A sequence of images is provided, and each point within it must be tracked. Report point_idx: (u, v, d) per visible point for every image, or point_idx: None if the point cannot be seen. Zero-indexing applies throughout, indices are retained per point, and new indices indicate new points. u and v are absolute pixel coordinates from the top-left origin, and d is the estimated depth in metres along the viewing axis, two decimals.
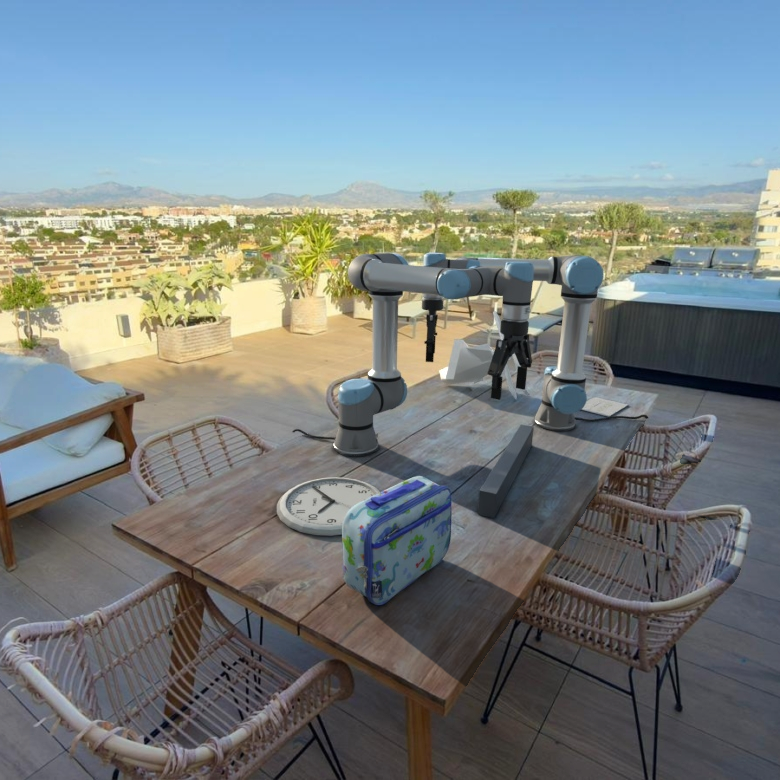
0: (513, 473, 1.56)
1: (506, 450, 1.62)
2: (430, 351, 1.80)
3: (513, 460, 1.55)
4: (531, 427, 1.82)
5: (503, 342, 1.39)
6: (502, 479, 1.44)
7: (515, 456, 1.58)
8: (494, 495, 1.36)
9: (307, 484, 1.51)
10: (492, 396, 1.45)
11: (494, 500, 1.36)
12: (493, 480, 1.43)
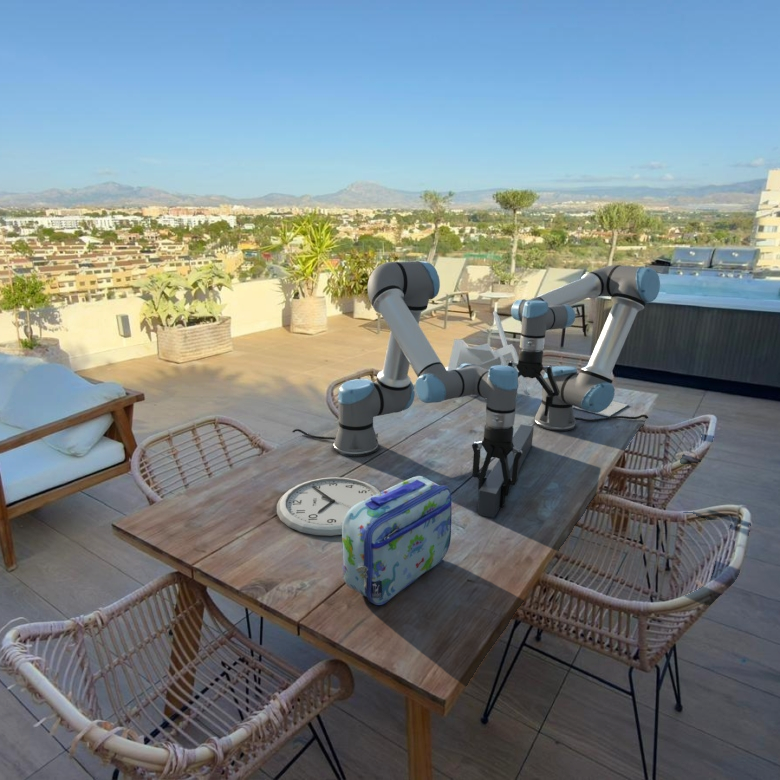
0: None
1: None
2: (552, 403, 1.71)
3: (513, 460, 1.55)
4: (531, 427, 1.82)
5: None
6: (502, 479, 1.44)
7: None
8: (494, 495, 1.36)
9: (307, 484, 1.51)
10: None
11: (494, 500, 1.36)
12: (493, 480, 1.43)
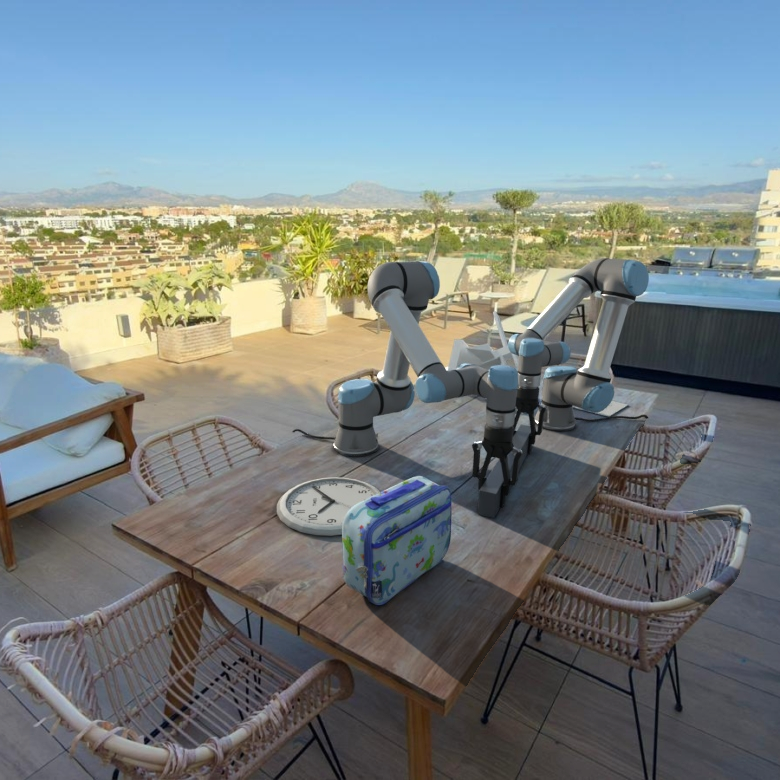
0: None
1: None
2: (534, 441, 1.77)
3: (513, 460, 1.55)
4: None
5: None
6: (502, 479, 1.44)
7: None
8: (494, 495, 1.36)
9: (307, 484, 1.51)
10: None
11: (494, 500, 1.36)
12: (493, 480, 1.43)
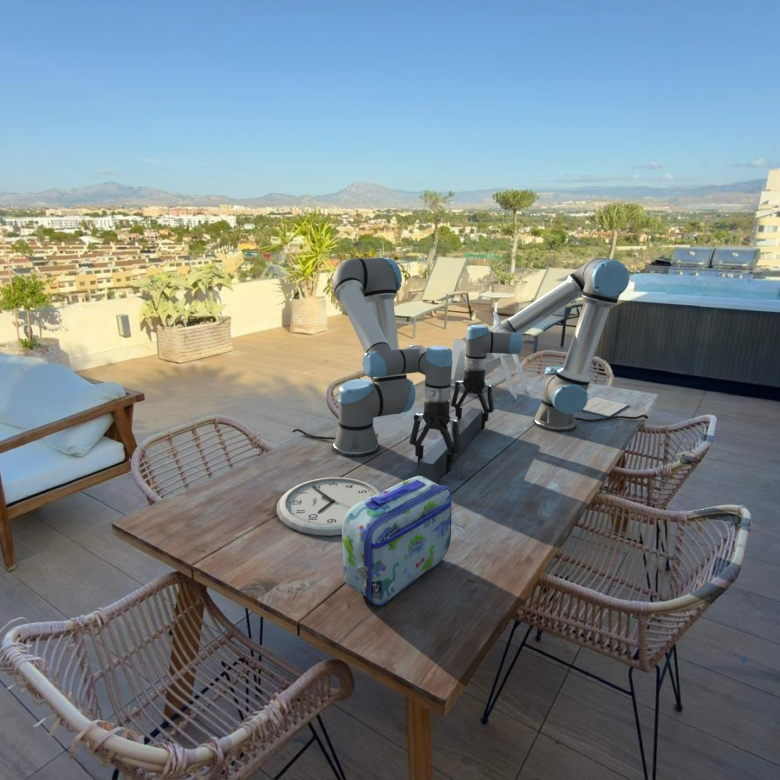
0: None
1: None
2: (487, 419, 1.92)
3: None
4: (480, 410, 1.98)
5: None
6: (442, 452, 1.60)
7: (459, 434, 1.75)
8: (431, 465, 1.52)
9: (307, 484, 1.51)
10: None
11: (431, 470, 1.53)
12: (434, 453, 1.59)
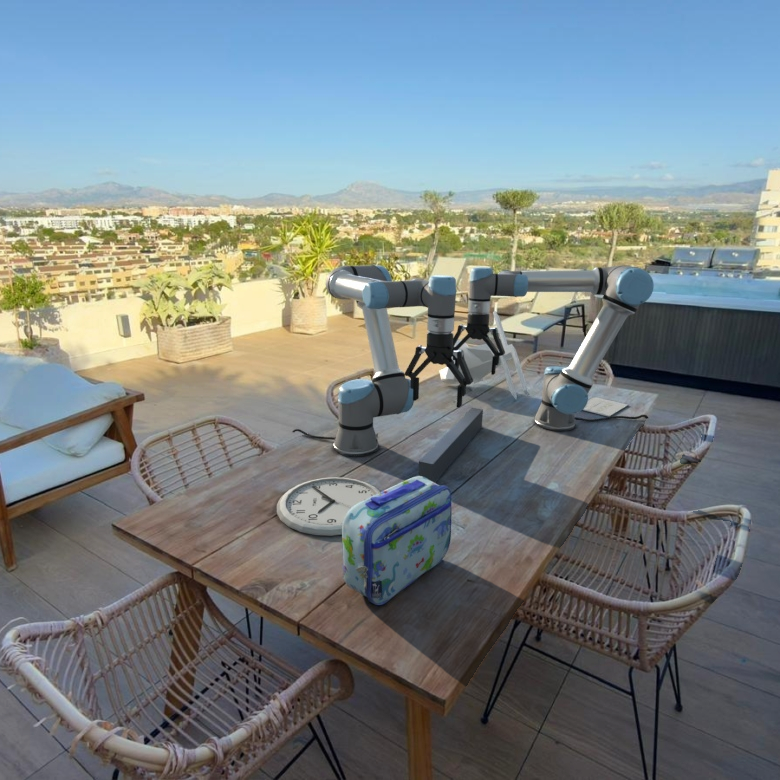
0: (456, 449, 1.73)
1: (452, 429, 1.79)
2: (498, 363, 1.84)
3: (456, 437, 1.72)
4: (480, 410, 1.98)
5: None
6: (442, 452, 1.60)
7: (459, 434, 1.75)
8: (431, 465, 1.52)
9: (307, 484, 1.51)
10: None
11: (431, 470, 1.53)
12: (434, 453, 1.59)
